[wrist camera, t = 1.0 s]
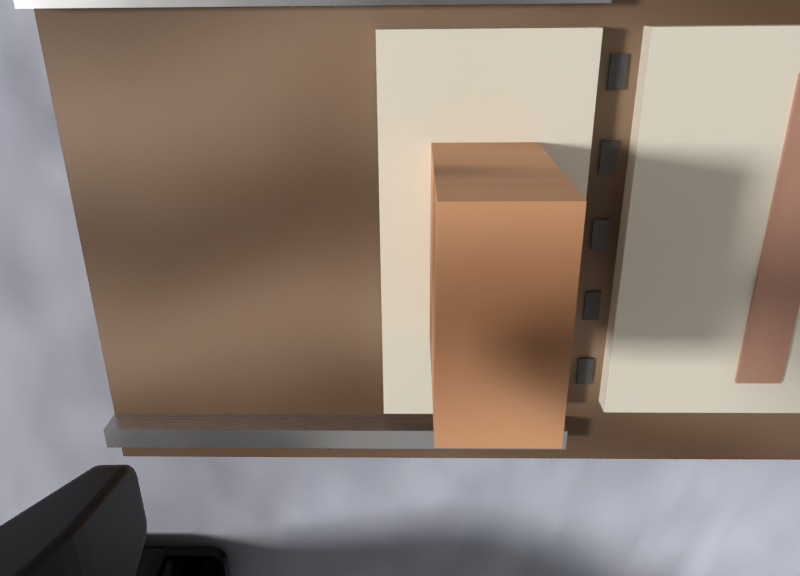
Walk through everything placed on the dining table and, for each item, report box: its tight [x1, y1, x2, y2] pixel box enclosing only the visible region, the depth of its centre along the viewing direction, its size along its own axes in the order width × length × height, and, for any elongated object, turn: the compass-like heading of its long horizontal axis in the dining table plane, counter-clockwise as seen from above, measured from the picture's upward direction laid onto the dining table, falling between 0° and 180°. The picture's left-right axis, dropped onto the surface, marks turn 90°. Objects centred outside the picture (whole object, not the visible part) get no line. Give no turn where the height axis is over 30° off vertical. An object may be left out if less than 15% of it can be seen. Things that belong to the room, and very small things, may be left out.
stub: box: [376, 26, 603, 449], centre depth 15 cm, size 10×5×6 cm, turn 1°
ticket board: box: [14, 0, 800, 460], centre depth 18 cm, size 14×22×2 cm, turn 91°
